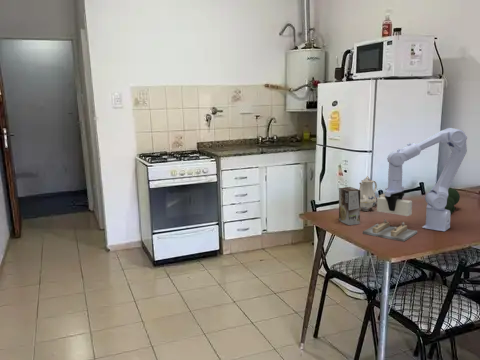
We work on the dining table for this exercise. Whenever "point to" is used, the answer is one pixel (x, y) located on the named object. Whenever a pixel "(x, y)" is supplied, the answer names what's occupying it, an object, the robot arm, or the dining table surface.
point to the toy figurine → (452, 199)
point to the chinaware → (368, 194)
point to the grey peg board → (390, 231)
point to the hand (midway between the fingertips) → (394, 209)
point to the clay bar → (400, 209)
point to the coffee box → (349, 205)
